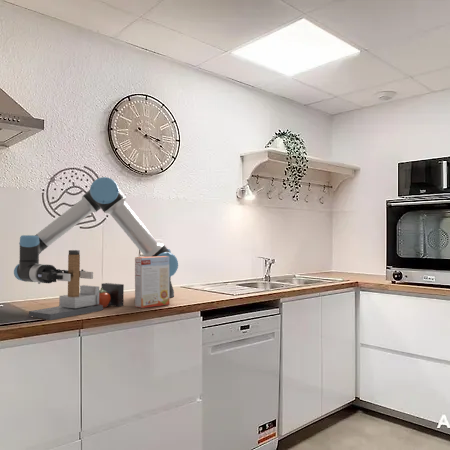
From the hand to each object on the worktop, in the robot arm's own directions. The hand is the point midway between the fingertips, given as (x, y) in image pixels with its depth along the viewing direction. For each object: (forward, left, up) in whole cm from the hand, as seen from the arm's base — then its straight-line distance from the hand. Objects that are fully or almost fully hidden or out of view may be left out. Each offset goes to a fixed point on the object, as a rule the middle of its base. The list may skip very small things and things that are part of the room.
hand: (81, 276), depth 167 cm
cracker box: (-24, -19, -14) cm, 34 cm away
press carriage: (+2, -5, -12) cm, 13 cm away
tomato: (-4, -15, -14) cm, 21 cm away
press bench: (+2, -5, -14) cm, 15 cm away
